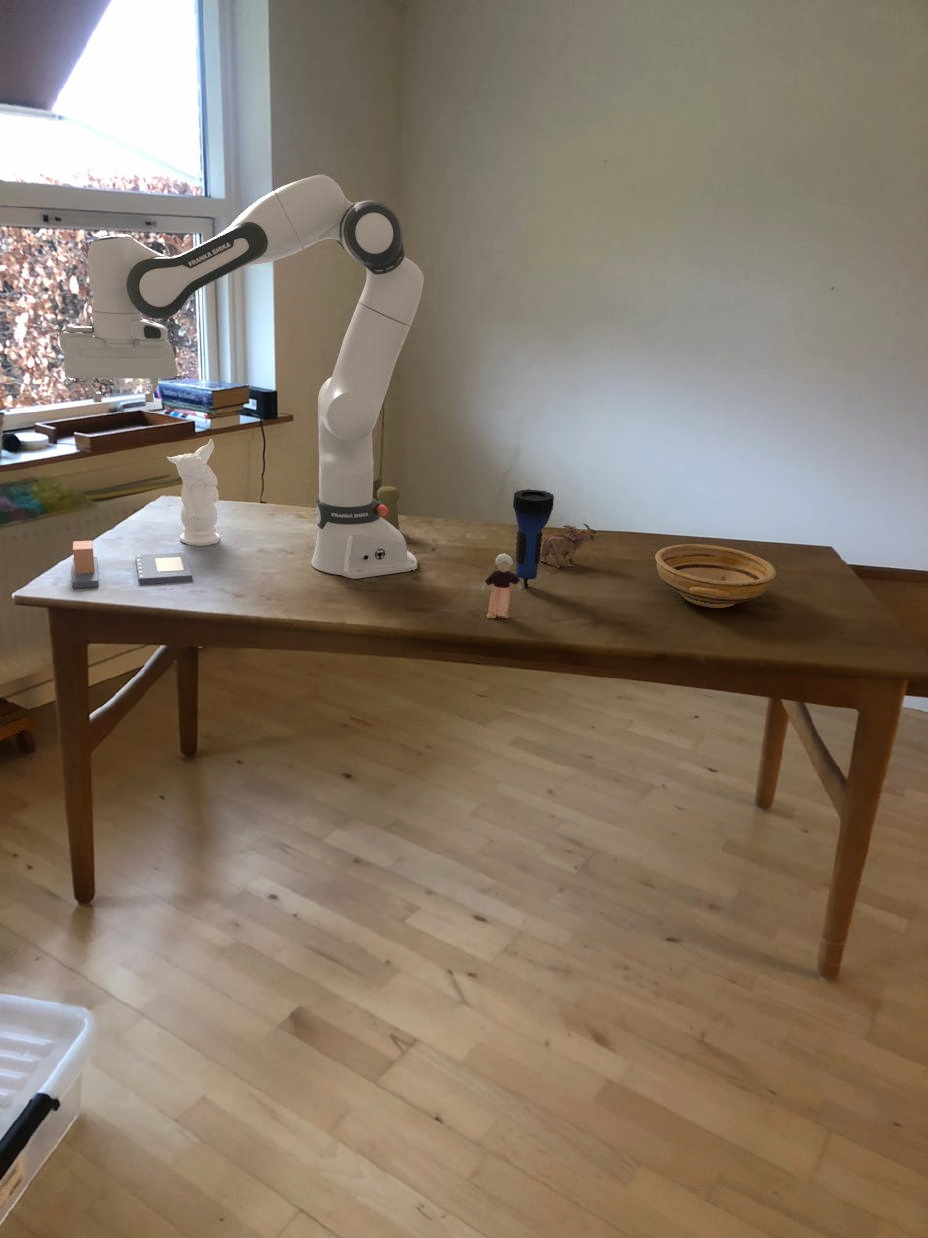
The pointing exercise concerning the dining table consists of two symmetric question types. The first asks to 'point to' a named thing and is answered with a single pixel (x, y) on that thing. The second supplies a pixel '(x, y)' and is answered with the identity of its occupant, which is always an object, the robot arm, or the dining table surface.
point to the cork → (389, 504)
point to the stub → (84, 565)
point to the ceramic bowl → (714, 573)
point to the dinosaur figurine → (566, 544)
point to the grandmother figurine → (501, 587)
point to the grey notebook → (163, 568)
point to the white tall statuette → (198, 496)
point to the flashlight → (530, 529)
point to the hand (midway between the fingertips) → (123, 401)
